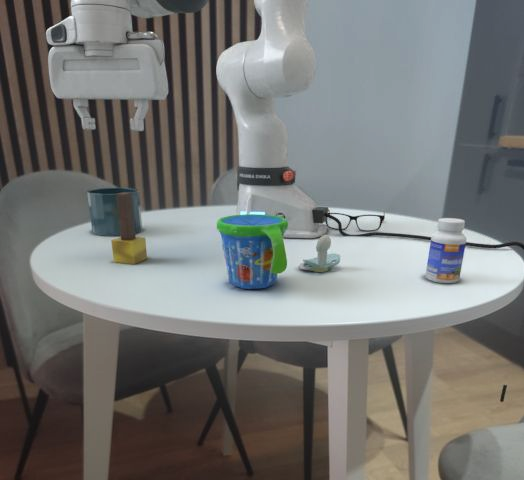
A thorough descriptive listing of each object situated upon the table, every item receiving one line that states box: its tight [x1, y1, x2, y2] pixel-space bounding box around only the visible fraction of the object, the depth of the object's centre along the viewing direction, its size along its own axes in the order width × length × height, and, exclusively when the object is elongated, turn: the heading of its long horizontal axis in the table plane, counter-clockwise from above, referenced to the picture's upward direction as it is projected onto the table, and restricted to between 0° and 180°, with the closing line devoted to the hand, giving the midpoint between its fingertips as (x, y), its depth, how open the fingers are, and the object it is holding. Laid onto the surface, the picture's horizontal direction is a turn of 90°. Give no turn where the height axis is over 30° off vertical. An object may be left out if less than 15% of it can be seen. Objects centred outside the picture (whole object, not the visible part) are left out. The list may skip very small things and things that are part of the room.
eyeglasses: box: [324, 208, 386, 233], centre depth 123 cm, size 14×14×4 cm
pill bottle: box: [425, 217, 467, 284], centre depth 81 cm, size 5×5×10 cm
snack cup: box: [216, 214, 288, 290], centre depth 77 cm, size 16×10×10 cm
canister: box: [86, 187, 143, 237], centre depth 114 cm, size 11×11×9 cm
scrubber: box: [110, 192, 148, 265], centre depth 89 cm, size 4×4×12 cm
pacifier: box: [298, 234, 341, 273], centre depth 87 cm, size 7×6×6 cm
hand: (112, 130), depth 83 cm, fingers open, 8 cm apart
